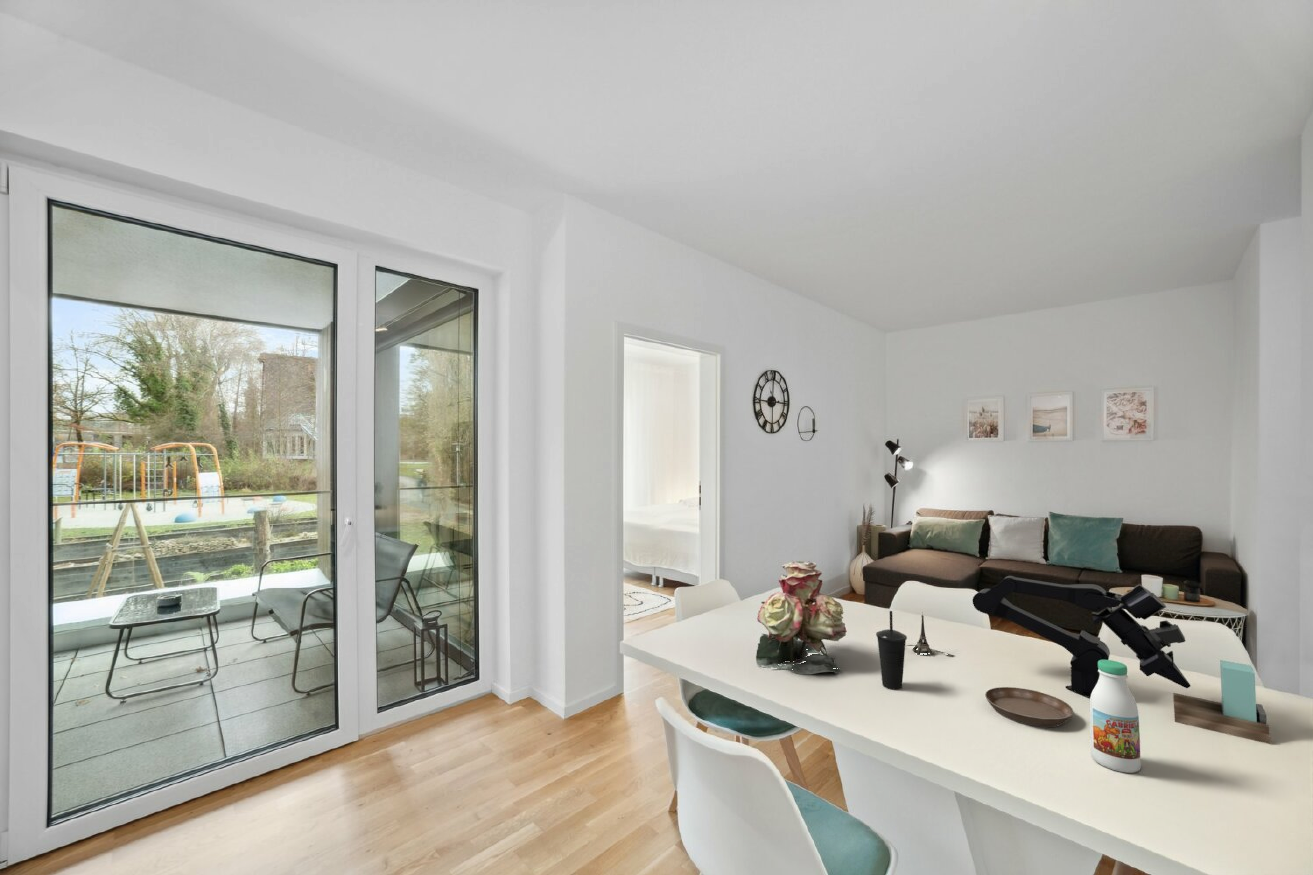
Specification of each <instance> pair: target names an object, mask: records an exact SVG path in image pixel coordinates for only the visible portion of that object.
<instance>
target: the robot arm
mask: <svg viewBox="0 0 1313 875" xmlns="http://www.w3.org/2000/svg"><path fill="white" fill-rule="evenodd" d="M1011 593H1018V594H1023V595H1029V596H1030V595H1031V596H1035V597H1041V598H1045V599H1046V598H1047V599H1053V600H1058V601H1059V600H1060V601H1064V602H1066V603H1069V604H1071V605H1074V606H1076V607H1079V608H1082V609H1085V610H1088V611H1091V612H1092V613H1091V616H1092V623H1091V624H1092V625H1093V626H1096V625H1098V624H1099V623H1101V622H1102V624H1104V625H1105V626H1106V627H1107V628H1108V629H1109V630H1111V631H1112V632H1113V633H1114V635H1116V637H1118V638H1119V639H1120V643H1121V644H1122V645H1124V646H1127V647H1128V648H1129V649H1130V650H1131V651H1132V652H1133V653H1135V657H1136V658H1137V659H1138V660H1139V670H1140V671H1141V672H1142V673H1143V674H1144V675H1145V676H1146V677H1150V676H1152V675H1153V674H1156V675H1158V676H1160V677H1162V678H1164V679H1166V680H1169V681H1170V682H1172V683H1175V684H1177V685H1179V686H1181V687H1182V688H1185V689H1189V688H1190V687H1191V683H1190V682H1189V681H1188V679H1187V678H1186V676H1185V675H1184V673H1182V671H1181V670H1180V669H1179V667H1178V666H1177V665H1176V663H1175V662H1174V652H1173V650H1170V651H1169V652H1165V650H1163V649H1164V648H1165V647H1168V648H1170V647H1172V644H1176V643H1177V644H1182V643H1185V642H1186V637H1185V635H1184V633H1183V632H1182V630H1181V628H1180V627H1179V625H1178V624H1174V623H1173V624H1172V623H1171V622H1169V621H1168V620H1161V621H1159V627H1158V626H1156V627H1155V628H1151V629H1150V628H1149V627H1148V626H1146V625H1143V624H1140V623H1139V622H1138V621H1136V619H1142V620H1144V621H1145V620H1147V619H1149V618H1150V617H1152V616H1154V615H1155V614H1157V613H1159V612H1162V610H1164V609H1165V608H1167V605H1166V604H1165V603H1164V602H1163V600H1161V599H1160V598H1159V597H1158V596H1157V595H1156V594H1155V593H1154V592H1151V591H1150V590H1149V589H1148V588H1146V587H1144V586H1143V585H1142V584H1137V585H1135V586H1134V587H1133V588H1132V589H1131V590H1129V591H1127V592H1126V593H1125V594H1119V593H1117V592H1111V591H1107V590H1105V589H1104V587H1102V586H1100V585H1097V584H1095V583H1094V584H1092V583H1091V584H1090V583H1089V584H1088V583H1087V584H1085V583H1084V584H1083V583H1081V584H1080V583H1076V584H1075V583H1074V584H1061V583H1055V582H1048V581H1041V580H1035V579H1028V578H1023V577H1016V576H1014V575H1008V576H1007V575H1006V576H1005V577H1004V578H1003V579H1002V580H1001V581H999V582H998V583H997V584H996V585H994V586H992V587H990V588H984V589H980V591H978V592H977V593H975V594H974V596H973V597H972V605H973V606H974V609H975V610H976V611H978V612H980V613H982V614H985V615H989V616H991V617H996V618H999V619H1005V620H1007V621H1009V622H1012V623H1014V624H1016V625H1018V626H1020V627H1022V628H1024V629H1025V630H1028V631H1029V632H1032V633H1034V634H1036V635H1038V636H1041V637H1042V638H1045V639H1046V640H1049V641H1050V642H1053V643H1055V644H1057V645H1058V646H1061V647H1062V648H1064V649H1065V650H1066V651H1067V652H1068V653H1070V655H1071V654H1072V657H1071V660H1070V685H1065V688H1066V689H1067V690H1070V691H1072V692H1074V693H1076V694H1078V695H1081V696H1083V697H1086V698H1089V699H1090V697H1091V693H1092V691H1093V689H1094V687H1095V686H1096V684H1097V682H1098V680H1099V676H1100V673H1099V672H1098V661H1099V660H1110V655H1111V653H1110V652H1111V650H1110V648H1109V646H1108V645H1107V644H1106V643H1105V642H1104V641H1102V640H1101V637H1100V636H1099V637H1098V636H1094V635H1092V634H1090V633H1088V632H1087V631H1085V630H1081V631H1080V634H1079V633H1074V632H1070V631H1069V630H1066V629H1064V628H1062V627H1059V626H1058V625H1056V624H1053V623H1052V622H1049V621H1048V620H1045V619H1043V618H1041V617H1039V616H1037V615H1034V614H1032V613H1031V612H1028V611H1026V610H1024V609H1022V608H1020V607H1018V606H1016V605H1014V604H1013V603H1011V602H1010V601H1009V600H1007V599H1006V598H1005V597H1007V596H1008V595H1010V594H1011ZM1098 611H1099V612H1098ZM1134 618H1135V619H1134Z"/></svg>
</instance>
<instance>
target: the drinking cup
mask: <svg viewBox="0 0 1313 875" xmlns="http://www.w3.org/2000/svg"><path fill="white" fill-rule="evenodd" d="M893 627H894V626H893V611H892V610H889V629H883V630H882V629H881V630H879V631H877V632H876V633H875V635H876V638H877V644H878V646H877V647H878V655H879V665H880V673H881V674H880V675H881V682H882V684H881V685H882V686H883V687H884V688H886V689H889V690H894V691H895V690H901V689H902V688H903V678H904V665H905V654H906V652H905V651H906V648H905V647H906V643H907V642H906V641H907V639H908V636H907V635H906V634H904V633H902V632H900V631H899V630H895V629H893Z"/></svg>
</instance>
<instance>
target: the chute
mask: <svg viewBox="0 0 1313 875" xmlns="http://www.w3.org/2000/svg"><path fill="white" fill-rule="evenodd" d="M1172 694H1173V695H1172V696H1173V713H1174V723H1180V724H1182V725H1183V724H1184V725H1188V726H1192V727H1196V728H1201V729H1204V730H1205V729H1206V730H1208V731H1212V732H1217V733H1222V734H1226V735H1230V736H1235V737H1238V738H1243V739H1247V740H1250V741H1251V740H1252V741H1255V742H1259V743H1264V744H1268V745H1271V743H1272V742H1271V740H1272V739H1271V735H1270V727H1269V724H1267V723H1268V722H1267V720H1268V719H1267V714H1266V710H1265V709H1264V706H1263V704H1260V703H1256V717H1257V722H1253V721H1249V720H1244V719H1240V718H1235V717H1231V716H1226V715H1223V713H1222V702H1220V701H1219V702H1218V701H1215V700H1208V699H1204V698H1201V697H1200V698H1199V697H1195V696H1191V695H1190V696H1189V695H1185V694H1180V693H1176V692H1173V693H1172Z"/></svg>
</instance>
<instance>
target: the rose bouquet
mask: <svg viewBox="0 0 1313 875" xmlns="http://www.w3.org/2000/svg"><path fill="white" fill-rule="evenodd" d="M808 562H809V563H808ZM808 562H805V561H790V562H789V563H785V564H783V565H781V568H783V569H784V570H785V571H786V573H787V575H785V574H782V575H781V576H780V579H778V583H779V586H780V588H781V591H782V592H780V591H777V592H774V593H773V594H771V595H770V596H769V597H768V598H767V599H766V601H761V605H760V607H759V610H758V613H757V617H756V618H757V619H756V620H757V622H758V623H760V624H761V625H763V626H764V628H765V629H766V630H767V631H768V634H767V633H762V634H761V636H760V637H759V643H757V649H756V654H755V660H756V665H757V666H758V667H759V668H764V669H771V668H777V669H772V671H776V670H789V671H790V672H793V673H794V674H798V675H813V674H814V675H815V674H819V673H827V672H829V673H830V672H833V673H834V674H835V675H840V673H841V672H842V669H841V668H840V667H839V666H838V665H837V663H836V662H835V659H836V658H833V657H834V656H832V657H830V656H829V655H828V652H827V649H826V647H825V643H824V641H823V640H826V641H832V642H839V641H840V640H842V639H843V638H844V637H845V636H846V635H847V631H848V630H847V629H846V623H845V622H843V619H844V617H843V614H844V608H843V606H842V604H841V603H840V602H839V601H837V600H835V599H834V598H833V597H832V596H830V595H829V594H824V593H823V594H822V593H820V592H821V588H822V586H823V580H822V579H819V578H820V576H821V575H822V571H820V570H819V569H815V568H816V567H817V563H816V562H813V561H812V560H809V561H808ZM806 649H808V650H806ZM820 651H821V652H820ZM807 652H808V653H819V654H812V655H810V656H807V655H806V656H807V657H803V655H804V654H803V653H807ZM808 653H807V654H808ZM820 654H823V655H820ZM797 660H802V661H806V662H804V663H801V664H796V663H794V662H793V661H796V662H797ZM785 661H790V662H789V663H785V664H786V665H784V663H783V662H785ZM834 662H835V663H834ZM781 663H782V665H781ZM778 664H779V665H778ZM793 664H794V665H793ZM833 668H836V669H833ZM837 668H838V669H837ZM839 668H840V669H839ZM792 669H793V670H792Z"/></svg>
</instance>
